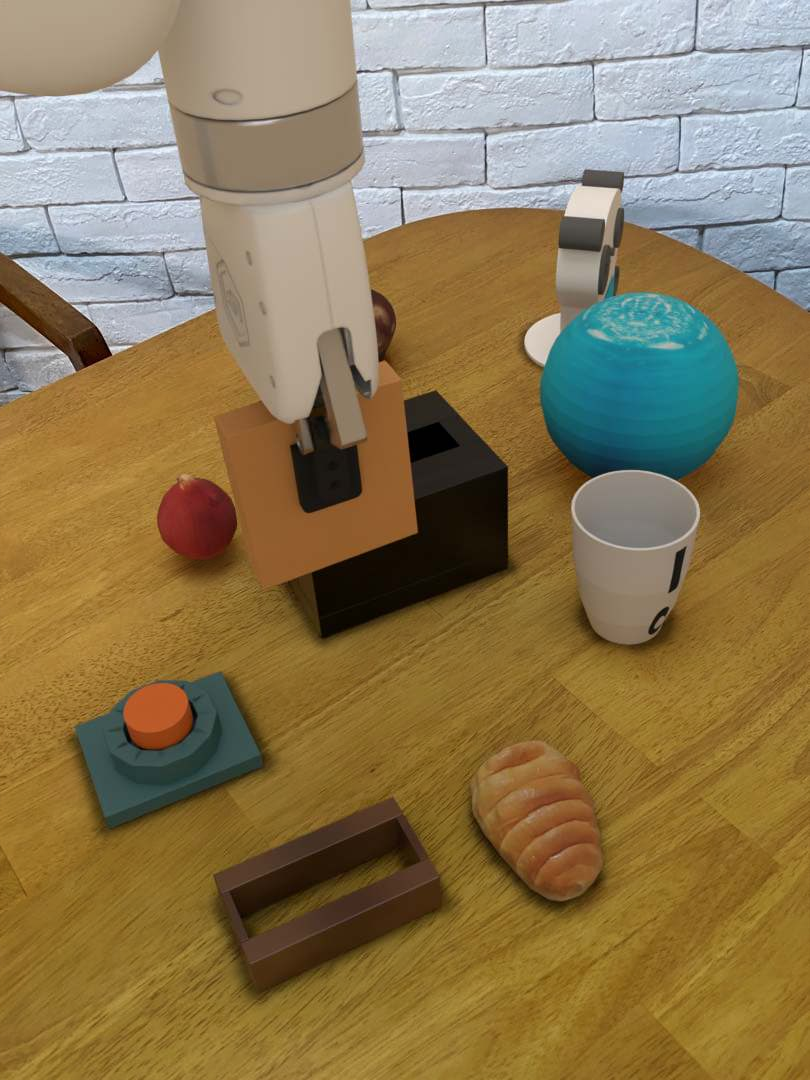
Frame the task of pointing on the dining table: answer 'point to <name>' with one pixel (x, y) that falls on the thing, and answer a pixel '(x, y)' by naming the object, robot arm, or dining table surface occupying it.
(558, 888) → the pastry
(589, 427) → the decorative orb
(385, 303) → the brown mottled ceramic figure
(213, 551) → the onion
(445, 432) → the toaster
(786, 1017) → the dining table surface
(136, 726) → the button
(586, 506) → the cup
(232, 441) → the toast
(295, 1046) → the dining table surface
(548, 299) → the dining table surface
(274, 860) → the brown rectangular frame
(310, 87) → the robot arm
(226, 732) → the block
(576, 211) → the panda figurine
